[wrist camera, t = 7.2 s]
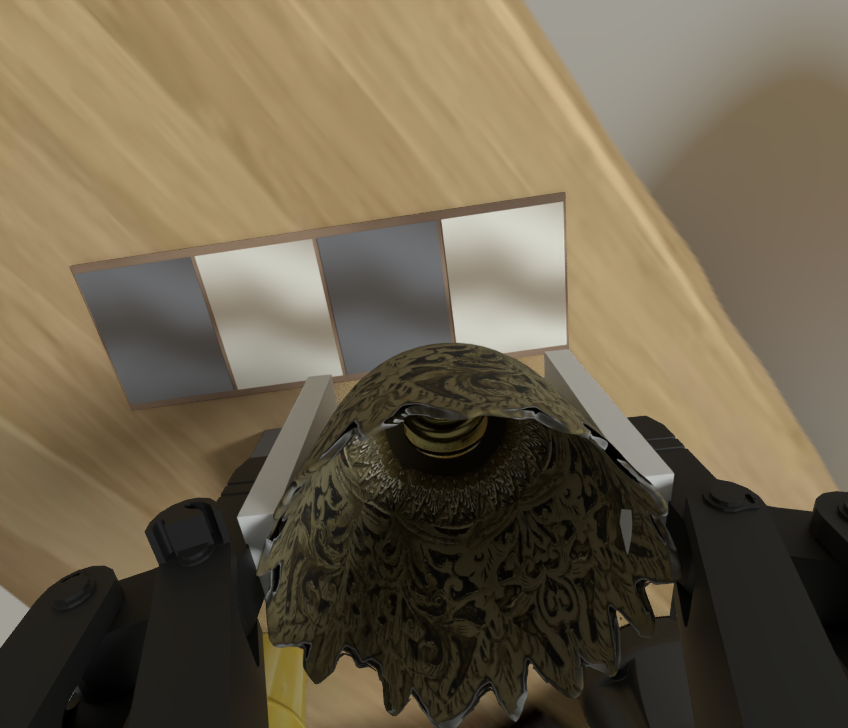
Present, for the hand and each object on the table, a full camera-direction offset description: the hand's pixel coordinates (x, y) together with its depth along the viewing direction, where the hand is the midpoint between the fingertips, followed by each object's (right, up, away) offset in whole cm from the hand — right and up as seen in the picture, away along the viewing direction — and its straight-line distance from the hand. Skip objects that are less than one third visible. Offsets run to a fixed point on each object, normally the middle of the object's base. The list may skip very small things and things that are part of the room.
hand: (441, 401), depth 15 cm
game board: (-7, +5, +14) cm, 16 cm away
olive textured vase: (0, 0, 0) cm, 1 cm away
